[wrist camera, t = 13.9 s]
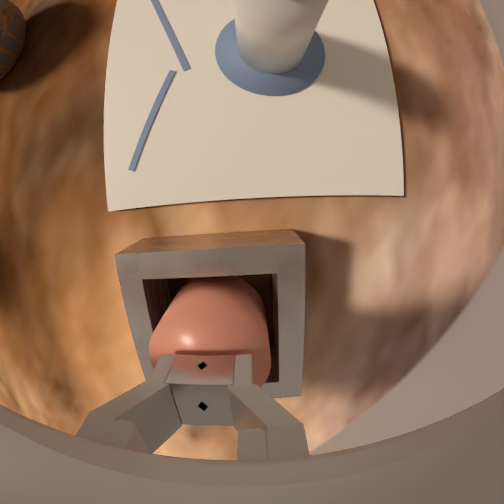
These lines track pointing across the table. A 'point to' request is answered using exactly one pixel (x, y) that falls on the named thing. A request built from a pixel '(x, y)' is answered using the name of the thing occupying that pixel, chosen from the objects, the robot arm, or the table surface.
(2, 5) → the vase
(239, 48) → the dome-topped peg
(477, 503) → the robot arm
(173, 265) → the button housing
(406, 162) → the table surface
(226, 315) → the button
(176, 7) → the drawing pad
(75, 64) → the table surface
